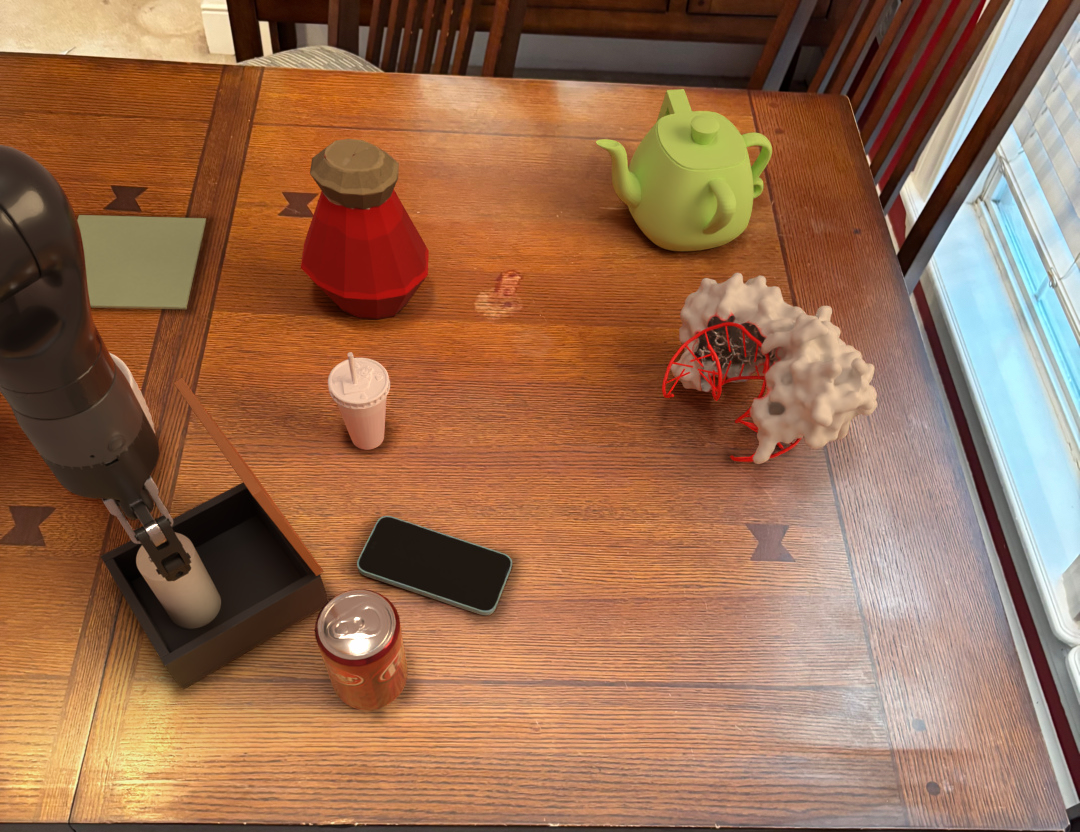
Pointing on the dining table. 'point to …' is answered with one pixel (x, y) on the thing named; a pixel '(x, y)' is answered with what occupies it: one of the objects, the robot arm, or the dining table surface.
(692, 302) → the protein dna model
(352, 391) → the smoothie
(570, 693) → the dining table surface
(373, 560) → the smartphone
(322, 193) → the bottle
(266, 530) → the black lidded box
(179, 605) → the white cylinder
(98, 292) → the mat
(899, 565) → the dining table surface
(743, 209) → the teapot
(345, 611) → the soda can
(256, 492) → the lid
